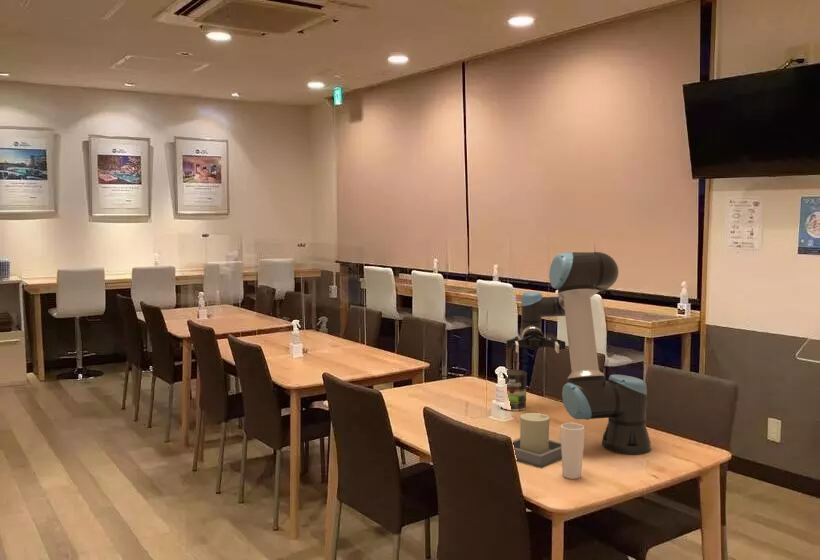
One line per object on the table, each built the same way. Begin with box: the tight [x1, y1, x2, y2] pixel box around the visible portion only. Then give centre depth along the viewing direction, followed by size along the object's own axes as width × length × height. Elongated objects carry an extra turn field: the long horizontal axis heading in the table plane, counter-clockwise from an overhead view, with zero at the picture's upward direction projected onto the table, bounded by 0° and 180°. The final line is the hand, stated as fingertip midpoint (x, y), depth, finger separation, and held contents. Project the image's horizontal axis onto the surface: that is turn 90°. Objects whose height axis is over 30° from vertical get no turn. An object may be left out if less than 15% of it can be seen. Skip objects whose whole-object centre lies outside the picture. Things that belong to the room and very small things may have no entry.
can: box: [519, 412, 550, 455], centre depth 231 cm, size 9×9×12 cm
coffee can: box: [506, 368, 528, 412], centre depth 286 cm, size 10×10×14 cm
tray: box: [512, 437, 562, 469], centre depth 231 cm, size 15×15×4 cm
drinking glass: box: [560, 422, 586, 480], centre depth 213 cm, size 7×7×15 cm
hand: (537, 349), depth 249 cm, fingers open, 13 cm apart
